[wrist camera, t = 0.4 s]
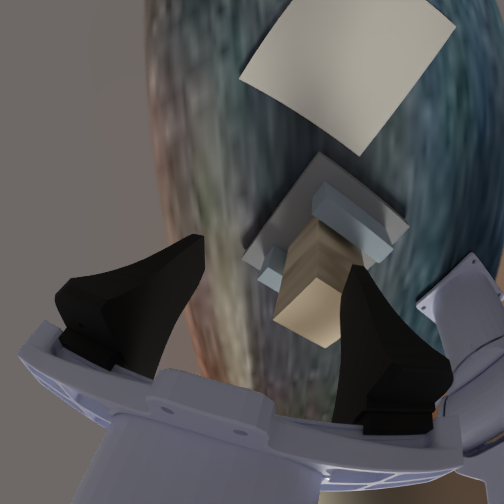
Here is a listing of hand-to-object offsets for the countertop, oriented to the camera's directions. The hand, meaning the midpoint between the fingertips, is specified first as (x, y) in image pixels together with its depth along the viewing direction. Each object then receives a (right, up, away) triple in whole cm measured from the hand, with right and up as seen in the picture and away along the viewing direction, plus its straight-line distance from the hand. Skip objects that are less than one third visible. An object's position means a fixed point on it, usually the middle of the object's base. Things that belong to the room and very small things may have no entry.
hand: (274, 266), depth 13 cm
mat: (+6, +15, 0) cm, 16 cm away
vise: (+5, +2, +9) cm, 10 cm away
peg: (+5, +1, +8) cm, 9 cm away
